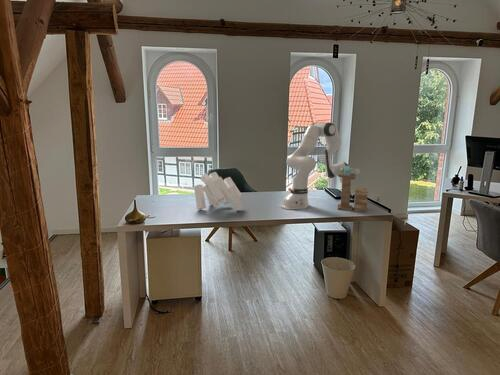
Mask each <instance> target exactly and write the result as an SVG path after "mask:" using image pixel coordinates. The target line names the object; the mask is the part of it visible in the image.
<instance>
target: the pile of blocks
mask: <svg viewBox="0 0 500 375" xmlns="http://www.w3.org/2000/svg"><path fill="white" fill-rule="evenodd" d="M199 180H201V182H202V183H203V184H197V185H193V189H194V190H193V191H194V195H195V196H194V197H195V203H196V210H204V209H207V205H206V199H207V201H208V204H209V206H213V208H214V209H215V208H218V207H220V206H221V204H223V205H224V206H226V205H229V204H231V201H232V202H233V205H234V207H235V209H236V211H237V212H238V211H240V210H242V209H244V206H243V203H242V200H241V198H242V196H243V194H242V193H241V191H240V190H239V188H238V187H237V185H236V183H235V182H234V181H233V179H232V178H231V176H228V177H225V178H222V176H220V175H219V174H218V173H217V171H214V172H211V173H209V174H207V173H206V172H204V173H203V174H202V175H201V176H200V178H199ZM205 197H206V199H205Z"/></svg>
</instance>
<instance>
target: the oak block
mask: <svg viewBox="0 0 500 375" xmlns="http://www.w3.org/2000/svg"><path fill="white" fill-rule="evenodd" d="M368 192H369V191H368V189H367V188H366V187H355V188H354V200H353V201H354V203H353V208H354V209H353V210H354V212H361V213H362V212H363V213H366V212H367V207H368V205H367V204H368V195H369V193H368Z"/></svg>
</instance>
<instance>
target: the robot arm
mask: <svg viewBox="0 0 500 375" xmlns="http://www.w3.org/2000/svg"><path fill="white" fill-rule="evenodd" d="M319 137H320V138H321V137H323V138H325V140H326V141H325V142H326V147H325V148H324V163H325V174H326V176H327V177H328V178H330V179H333V178H336V177H338V173H344V166H349V164H348V163H347V162H345V161H340V162H337V163H335V164H332V161H331V157H332V155H333V154H334V153H336V152H337V151H338V150H339V149H340V148H341V146H342V139H341V135H340V132H339V129H338V128H337V127H336V125H335V124H334V123H333V122H325V121H320V122H318V121H317V122H313V123H312V124H311V125H308V127H307V128H306V130H305V132H304V134H303V136H302V137H301V138H302V139H301V140H300V143H299V145H298V147H297V148H296V150H294V152H293V153H291V154H290V155H288V156H287V157H286V161H285V162H286V166H287V167H288V168H291V169H293V170H298V171H297V174H296V175H294V176H293V178H292V188H291V187H288V191H289V192H290V193H288V194H287V195H286V196H284V197H283V199H282V203H279V207H280V208H281V209H284V210H290V211H291V210H302V209H303V210H305V209H307V208H308V207H309V206H310V204H309V202H308V201H309V200H308V193H309V187H308V181H309V180H308V179H309V177H310V174H311V172H312V171H313V170H315V168H316V166H317V163H316V162H317V161H316V159H315V158H313V157H311V156H308V155H309V154H311V153H313V152H314V150H315V148H316V145H317V142H318V139H319ZM349 168H350V173H351V174H355V178H351V180H357V179H358V177H359V176H360V174H361V169H360V168H352V167H350V166H349ZM339 182H340V183H341V184H342V177H339Z"/></svg>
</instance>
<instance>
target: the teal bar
mask: <svg viewBox="0 0 500 375" xmlns="http://www.w3.org/2000/svg"><path fill="white" fill-rule="evenodd" d="M349 167H350V165H348V166H344V174H345V175H347V176H350V168H349Z"/></svg>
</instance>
